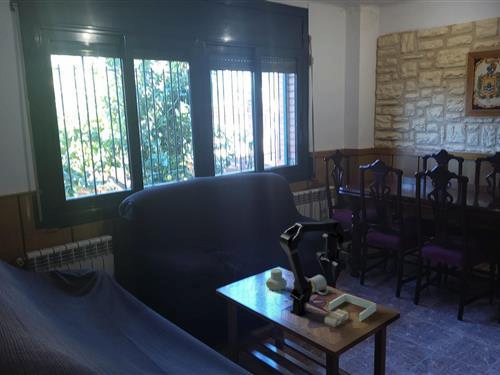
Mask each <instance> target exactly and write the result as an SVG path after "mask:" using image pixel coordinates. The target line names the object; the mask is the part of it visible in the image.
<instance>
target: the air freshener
mask: <svg viewBox="0 0 500 375" xmlns="http://www.w3.org/2000/svg"><path fill="white" fill-rule="evenodd" d="M265 285H266V287H267V288H268V289H269V290H271V291H273V292H278V291H279V292H280V291H282V290H284V289H285V288H286V287H287V286H288V281H287V280H286V279H285V278H284V277H283V270H282V269H280V268H273V269H271V270H270V277H268V278H267V279H266V281H265Z"/></svg>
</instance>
